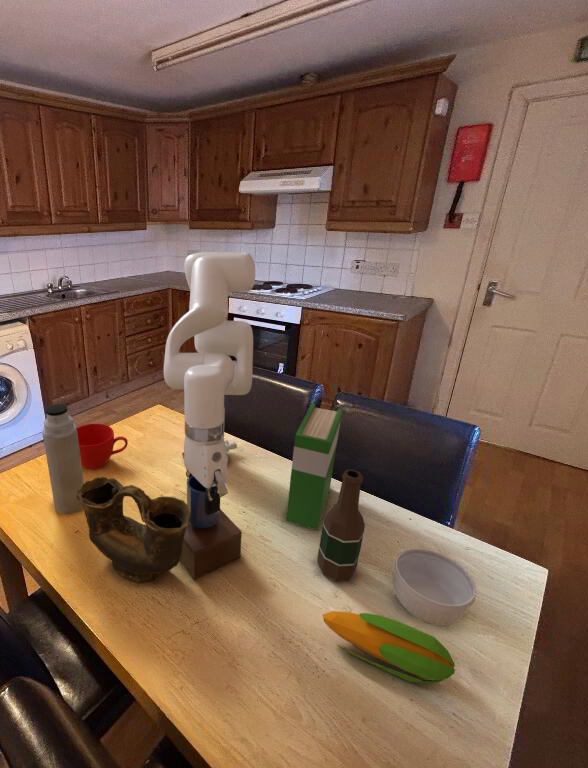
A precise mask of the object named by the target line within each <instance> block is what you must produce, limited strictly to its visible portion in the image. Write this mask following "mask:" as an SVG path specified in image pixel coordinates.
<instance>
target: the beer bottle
mask: <svg viewBox="0 0 588 768" xmlns="http://www.w3.org/2000/svg"><path fill="white" fill-rule="evenodd" d="M341 478H342V482H341V485H340V490H339V493H338V497H337V500H336V502H335V503H334V504H332V506H331V507H330V509H329V510H328V511H327V512H326V513H325V515H324V518H323V522H322V527H321V533H320V540H319V545H318V551H317V561H316V562H317V565H318V567H319V569H320V571H321V574H322V575H324V576H325V577H326V578H329V579H331V580H333V581H334V582H349V581H351V579H352V578H353V576H354V574H355V573H356V570H357V568H358V563H359V559H360V554H361V549H362V545H363V540H364V536H365V530H366V523H365V519H364V516H363V515H362V513H361V511H360V504H359V503H360V496H361V486H362V483H363V481H364V476H363V475H362V473H361V472H360V471H358V470H355V469H345V471H344V472H343V473H342V475H341Z"/></svg>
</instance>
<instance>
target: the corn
mask: <svg viewBox="0 0 588 768" xmlns="http://www.w3.org/2000/svg"><path fill="white" fill-rule="evenodd" d="M322 619H323V623H325V625H326V626H327V627H328V629H330V630H331V631H332V632H334V633H335V634H336V635H337V636H338V637H340V638H341V639H342V640H345V641H346V642H348V643H349V644H352V645H353V646H355V647H357V648H358V649H360V650H362V651H363V652H365V653H367V654H368V655H370V656H372V657H374V658H376V659H378V660H381V661H382V662H385V663H387V664H389V665H391V666H393V667H396V668H398V669H400V670H402V671H404V672H406V673H409V674H411V675H413V676H415V677H413V676H410V675H407V674H405V673H403V672H400V671H397V670H396V669H392V668H390V667H388V666H384V665H381V664H379V663H377V662H375V661H372V660H370V659H368V658H365V657H364V656H361V655H359V654H357V653H355V652H353V651H351V650H349V649H347V648H345V647H343V646H341V645H339V644H336V646H337V647H338V648H340V649H342V650H344V651H345V652H347V653H349V654H351V655H352V656H354V657H356V658H358V659H360V660H363V661H364V662H366V663H368V664H371V665H373V666H374V667H377V668H380V669H382V670H384V671H385V672H388V673H389V674H392V675H394V676H396V677H398V678H401V679H403V680H404V681H406V682H409V683H413V684H425V685H434V684H438V683H440V682H442V681H445V680H448V679H449V678H451V677H452V676H453V675H455V672H456V668H455V667H456V663H455V661H454V659H453V657H452V655H451V653H450V651H449V650H448V649H447V648H446V647H445V645H443V644H442V643H441V642H440V641H439V640H438V639H437V638H436V637H435V636H433V635H432V634H431V635H430V634H428V633H426V632H424V631H421V630H419V629H417V628H415V627H413V626H410V625H408V624H406V623H404V622H401V621H399V620H396V619H393V618H391V617H387V616H383V615H380V614H374V613H368V612H367V613H366V612H360V613H355V612H348V611H338V610H337V611H336V610H332V611H328V612H326V613H323V614H322ZM416 677H420V678H423V679H422V680H421V679H418V678H416Z"/></svg>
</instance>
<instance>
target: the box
mask: <svg viewBox="0 0 588 768" xmlns="http://www.w3.org/2000/svg"><path fill="white" fill-rule="evenodd" d="M242 536H243V535H239V536H237V537H235V538H232V539H230V540H228V541H226V542H223V543H221V544H219V545H216V546H214V547H212V548H209V549H207V550H205V551H202V552H200V553H198V554H195V555H194V554H193V552H192V551H191V550H190V548H189V547H188V546H187V544H186V543H185V542H184V540H183V543H182V553H181V557H180V562H181V563H182V565H183V566H184V567H185V569H186V570H187V572H188V573H189V574H190V576H191V578H192V579H193V580H194V581H196V580H198V579H200V578H202V577H204V576H207V575H209V574H210V573H213V572H216V571H217V570H219V569H221V568H224V567H226V566H228V565H231V564H232V563H234V562H236V561H239V560H241V552H242V538H243V537H242Z"/></svg>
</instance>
